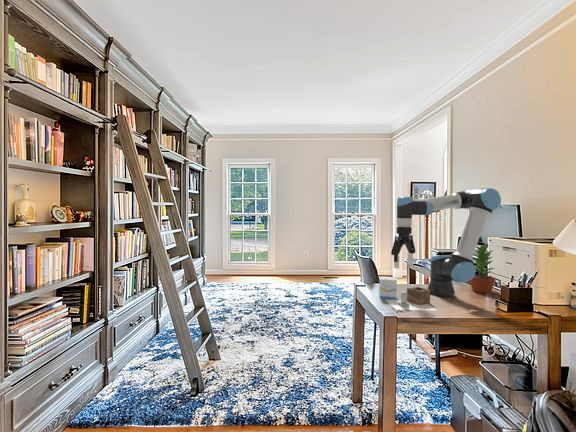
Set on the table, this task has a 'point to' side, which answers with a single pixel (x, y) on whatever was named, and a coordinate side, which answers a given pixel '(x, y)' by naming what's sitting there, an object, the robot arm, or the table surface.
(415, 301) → the wooden cubby shelf
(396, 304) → the hub board
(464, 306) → the table surface
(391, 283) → the ink box
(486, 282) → the potted plant
